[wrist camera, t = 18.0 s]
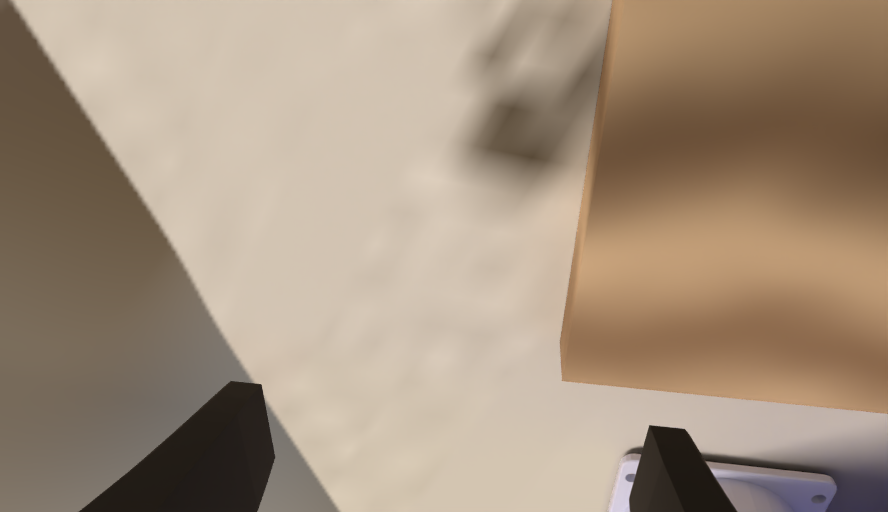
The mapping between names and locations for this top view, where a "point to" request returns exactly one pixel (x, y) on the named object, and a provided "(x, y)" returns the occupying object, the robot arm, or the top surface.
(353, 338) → the top surface
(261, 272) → the top surface
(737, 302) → the subfloor panel
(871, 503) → the top surface
